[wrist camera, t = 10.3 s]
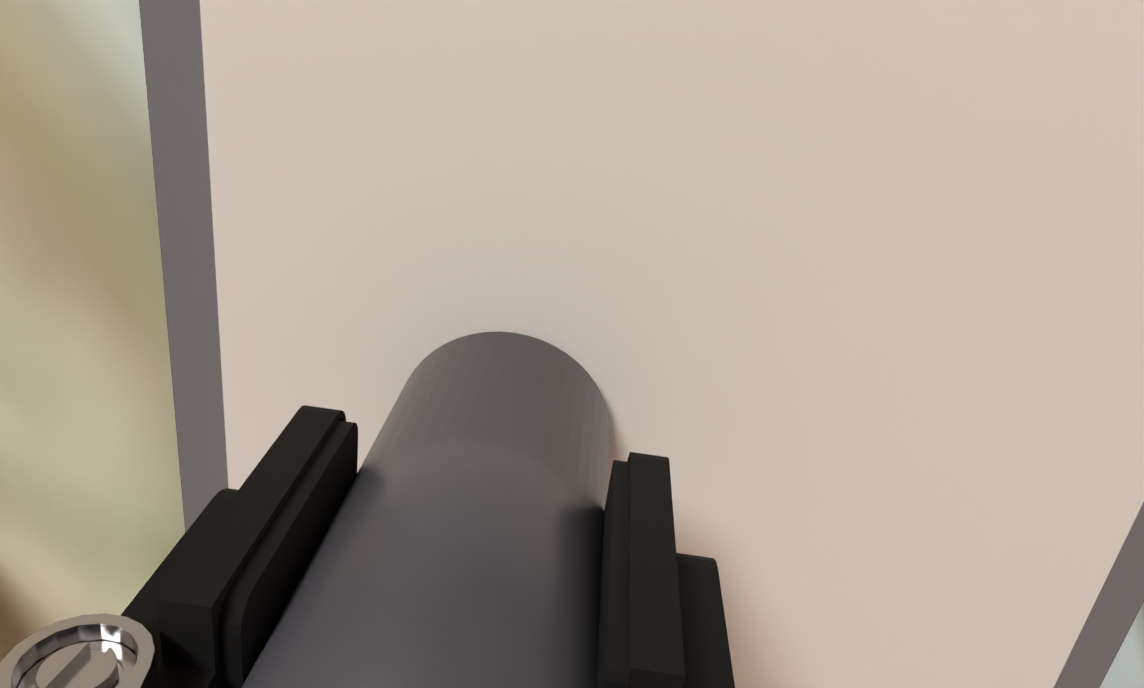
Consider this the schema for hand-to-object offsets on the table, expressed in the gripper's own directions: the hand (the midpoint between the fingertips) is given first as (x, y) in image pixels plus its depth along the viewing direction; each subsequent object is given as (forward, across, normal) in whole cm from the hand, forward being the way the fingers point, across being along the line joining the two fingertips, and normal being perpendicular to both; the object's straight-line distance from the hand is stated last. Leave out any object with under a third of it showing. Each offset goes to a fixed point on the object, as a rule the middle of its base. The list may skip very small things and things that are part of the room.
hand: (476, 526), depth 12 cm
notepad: (+4, -3, 0) cm, 5 cm away
